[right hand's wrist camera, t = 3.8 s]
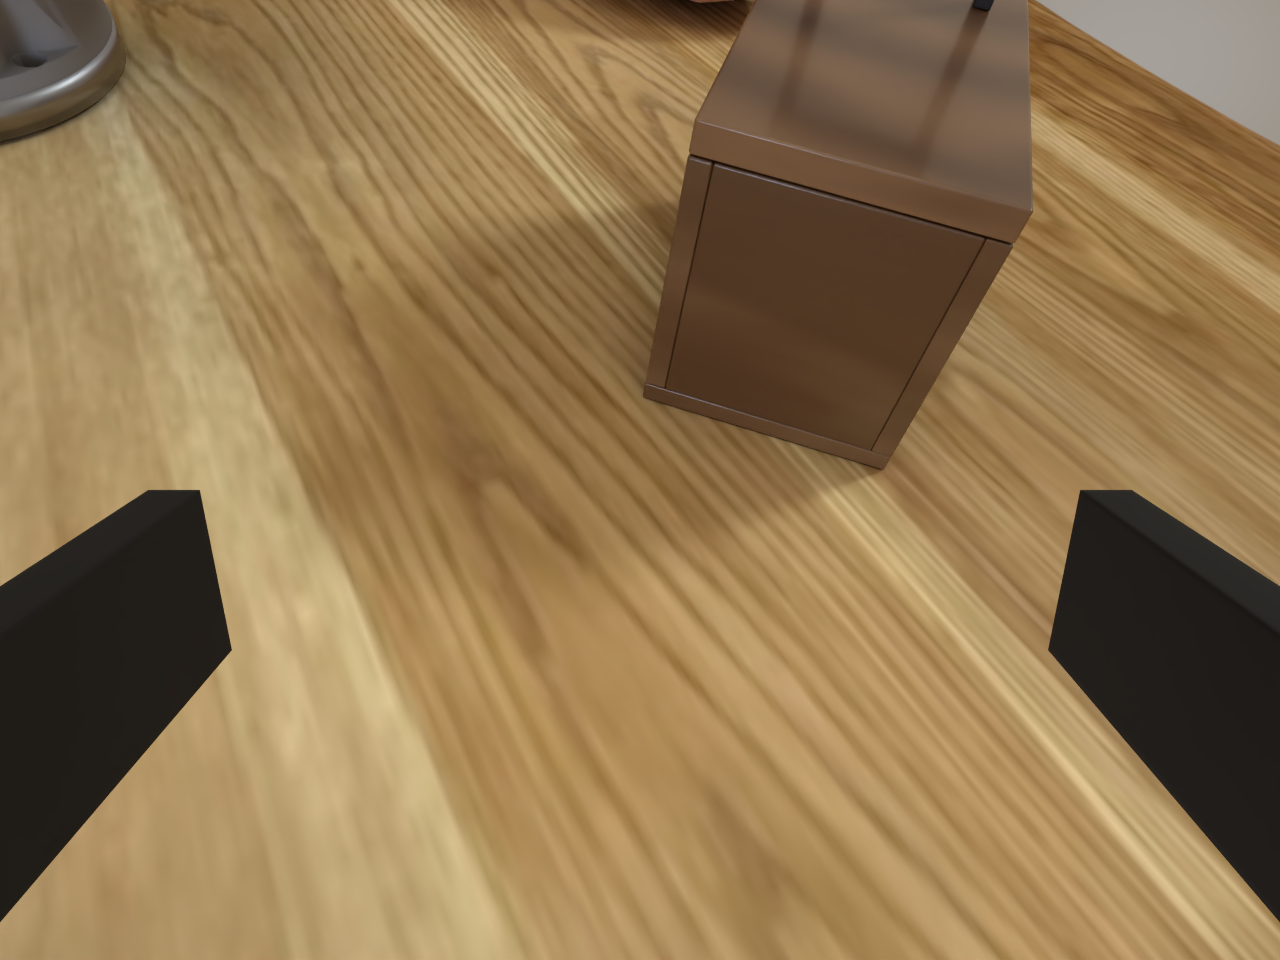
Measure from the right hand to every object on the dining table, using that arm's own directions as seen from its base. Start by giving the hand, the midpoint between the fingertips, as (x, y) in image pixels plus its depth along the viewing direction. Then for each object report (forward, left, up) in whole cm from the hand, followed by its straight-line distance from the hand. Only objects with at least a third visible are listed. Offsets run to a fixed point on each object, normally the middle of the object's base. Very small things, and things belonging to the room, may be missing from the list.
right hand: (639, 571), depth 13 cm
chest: (-19, +15, -14) cm, 28 cm away
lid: (-20, +16, -3) cm, 25 cm away
